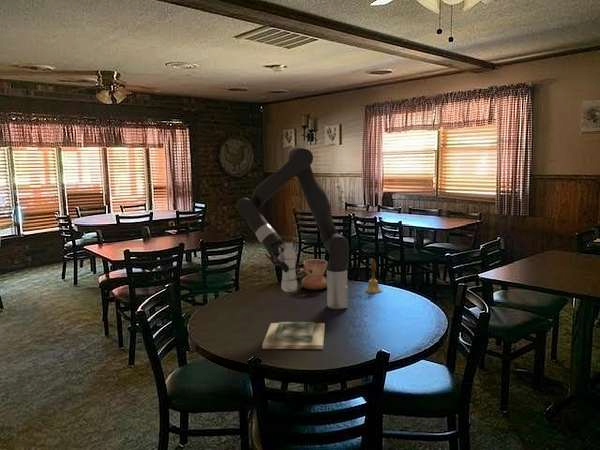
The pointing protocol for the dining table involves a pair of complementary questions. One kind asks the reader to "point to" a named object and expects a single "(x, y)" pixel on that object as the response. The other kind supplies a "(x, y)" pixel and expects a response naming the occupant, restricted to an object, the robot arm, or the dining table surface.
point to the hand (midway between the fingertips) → (292, 269)
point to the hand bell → (373, 281)
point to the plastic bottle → (290, 260)
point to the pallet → (294, 343)
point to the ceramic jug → (314, 274)
